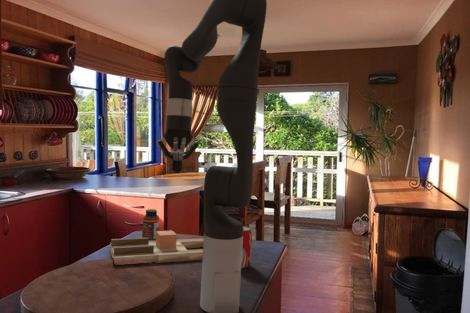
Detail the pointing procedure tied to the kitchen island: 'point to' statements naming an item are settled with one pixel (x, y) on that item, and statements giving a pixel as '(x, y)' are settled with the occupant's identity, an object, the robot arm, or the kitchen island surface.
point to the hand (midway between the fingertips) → (176, 172)
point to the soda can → (246, 247)
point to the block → (166, 239)
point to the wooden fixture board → (155, 250)
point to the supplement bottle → (150, 224)
